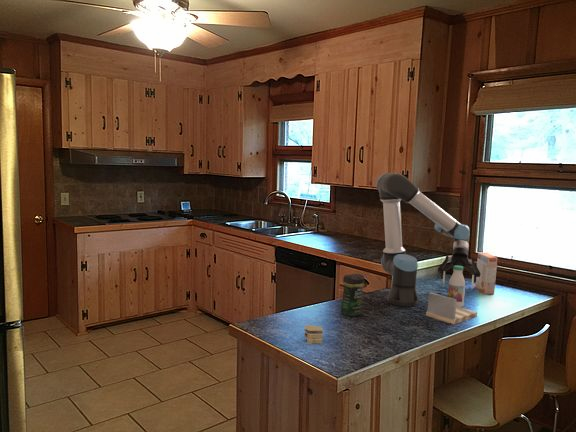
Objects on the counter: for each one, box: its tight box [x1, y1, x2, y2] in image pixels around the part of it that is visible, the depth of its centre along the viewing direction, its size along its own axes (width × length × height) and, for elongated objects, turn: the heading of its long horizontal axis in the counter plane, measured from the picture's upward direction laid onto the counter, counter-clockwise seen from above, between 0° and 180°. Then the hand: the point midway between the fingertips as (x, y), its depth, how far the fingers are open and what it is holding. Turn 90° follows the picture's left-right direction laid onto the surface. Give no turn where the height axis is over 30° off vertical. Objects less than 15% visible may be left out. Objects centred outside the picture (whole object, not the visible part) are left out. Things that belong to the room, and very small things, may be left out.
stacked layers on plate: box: [303, 324, 324, 345], centre depth 180 cm, size 10×9×6 cm
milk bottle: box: [447, 265, 466, 308], centre depth 234 cm, size 8×8×20 cm
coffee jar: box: [340, 273, 365, 317], centre depth 213 cm, size 10×8×19 cm
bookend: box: [427, 291, 457, 320], centre depth 211 cm, size 2×13×9 cm, turn 40°
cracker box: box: [474, 252, 499, 295], centre depth 264 cm, size 14×6×21 cm, turn 179°
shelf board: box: [425, 306, 478, 325], centre depth 217 cm, size 20×14×2 cm
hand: (457, 285), depth 233 cm, fingers open, 13 cm apart
